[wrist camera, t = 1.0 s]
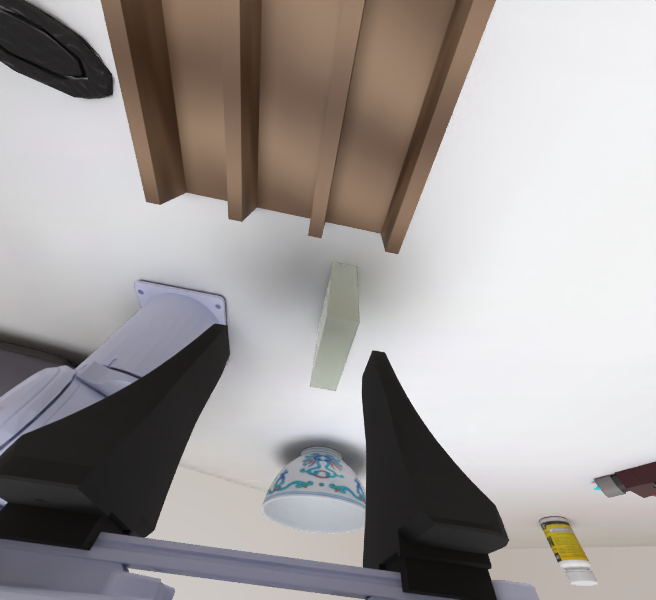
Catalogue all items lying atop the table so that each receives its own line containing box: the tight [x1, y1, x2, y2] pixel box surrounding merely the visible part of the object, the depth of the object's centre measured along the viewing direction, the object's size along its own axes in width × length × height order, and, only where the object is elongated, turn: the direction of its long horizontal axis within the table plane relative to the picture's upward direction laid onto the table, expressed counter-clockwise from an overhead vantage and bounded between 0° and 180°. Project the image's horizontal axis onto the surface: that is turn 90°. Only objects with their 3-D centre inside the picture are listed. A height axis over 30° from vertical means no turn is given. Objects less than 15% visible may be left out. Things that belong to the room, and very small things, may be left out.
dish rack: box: [101, 0, 496, 254], centre depth 13 cm, size 12×15×4 cm
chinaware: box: [262, 447, 366, 533], centre depth 38 cm, size 15×15×8 cm
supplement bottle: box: [540, 517, 598, 586], centre depth 47 cm, size 5×5×8 cm
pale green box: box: [310, 262, 360, 391], centre depth 20 cm, size 7×2×7 cm, turn 169°
